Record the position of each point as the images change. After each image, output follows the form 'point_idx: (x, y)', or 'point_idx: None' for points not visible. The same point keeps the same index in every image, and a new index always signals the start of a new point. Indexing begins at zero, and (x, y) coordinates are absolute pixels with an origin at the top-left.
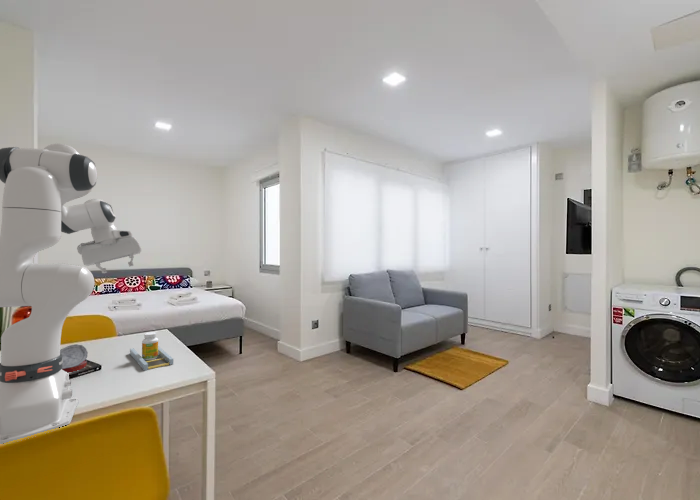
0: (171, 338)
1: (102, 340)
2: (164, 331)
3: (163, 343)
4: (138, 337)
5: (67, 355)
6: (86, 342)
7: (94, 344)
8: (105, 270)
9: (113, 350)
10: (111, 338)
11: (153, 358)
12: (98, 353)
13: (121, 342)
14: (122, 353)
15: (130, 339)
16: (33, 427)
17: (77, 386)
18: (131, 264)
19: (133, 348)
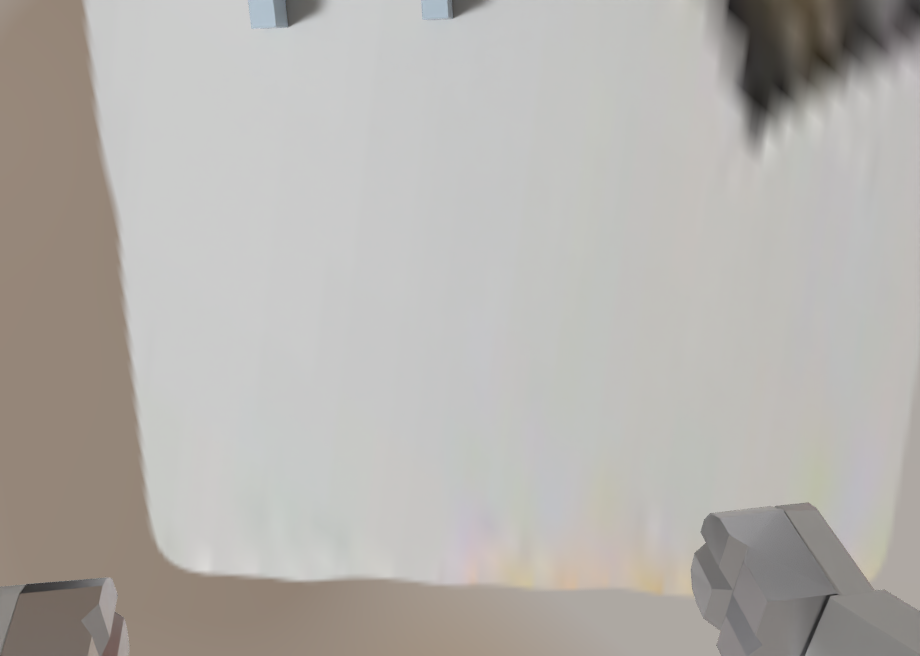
0: (128, 284)
1: (568, 549)
2: (156, 531)
3: (198, 168)
4: (342, 474)
5: None
6: (666, 562)
7: (629, 471)
8: (751, 532)
9: (541, 208)
10: (509, 566)
11: None
12: (641, 192)
13: (464, 406)
14: (497, 70)
15: (398, 452)
16: None
17: None
18: (32, 595)
19: (423, 9)
